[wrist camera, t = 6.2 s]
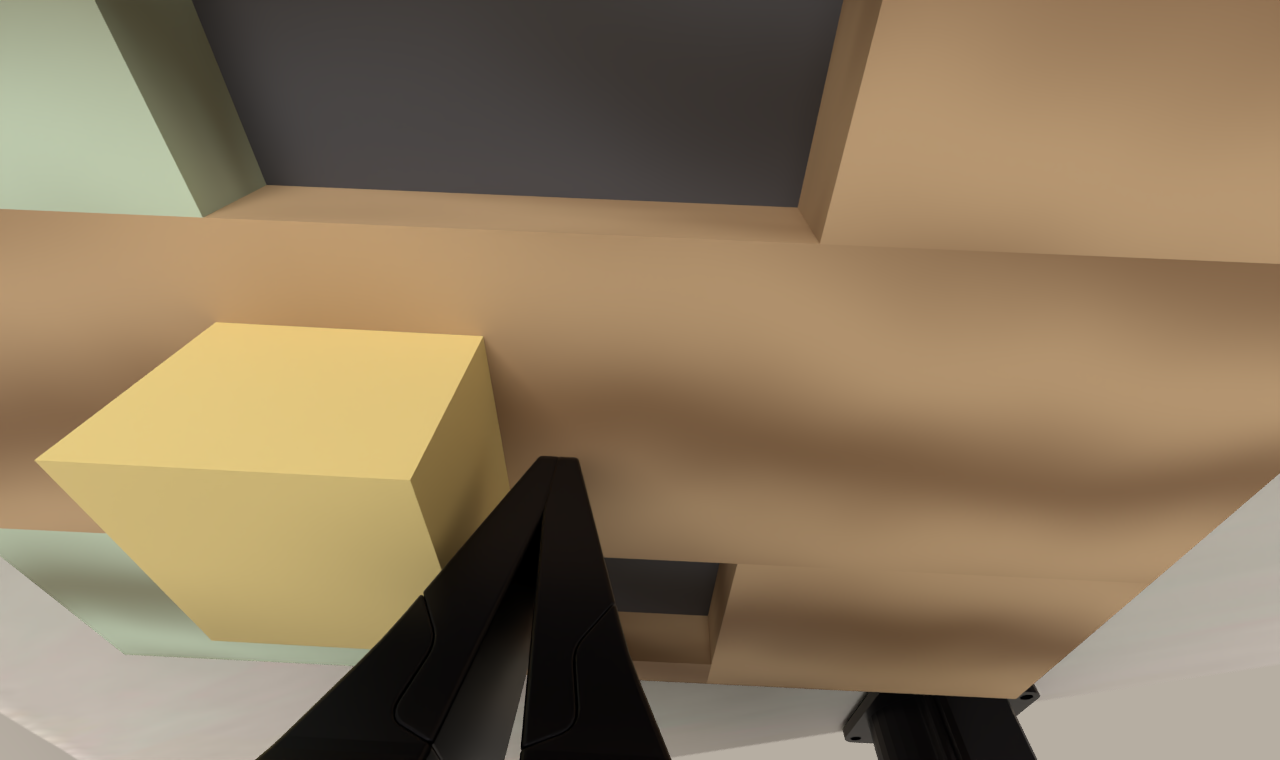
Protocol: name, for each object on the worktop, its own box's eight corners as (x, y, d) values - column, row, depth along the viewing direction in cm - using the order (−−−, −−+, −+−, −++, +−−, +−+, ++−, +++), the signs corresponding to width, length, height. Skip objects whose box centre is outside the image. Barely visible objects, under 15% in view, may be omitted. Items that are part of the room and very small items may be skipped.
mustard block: (513, 507, 13) (471, 654, 10) (310, 496, 13) (211, 640, 10) (483, 335, 10) (410, 480, 7) (215, 322, 10) (34, 459, 7)
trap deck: (987, 642, 20) (1015, 699, 18) (166, 601, 20) (124, 654, 19) (2050, -500, 5) (2664, -714, 4) (-1046, -595, 5) (-1748, -831, 4)
